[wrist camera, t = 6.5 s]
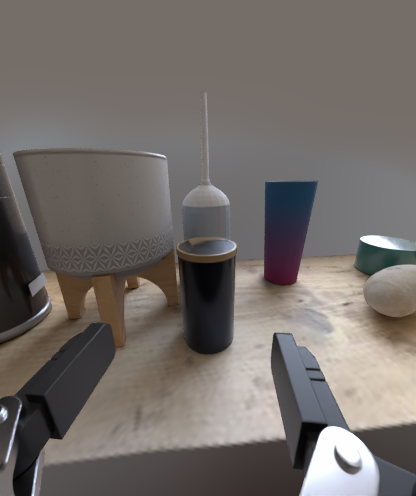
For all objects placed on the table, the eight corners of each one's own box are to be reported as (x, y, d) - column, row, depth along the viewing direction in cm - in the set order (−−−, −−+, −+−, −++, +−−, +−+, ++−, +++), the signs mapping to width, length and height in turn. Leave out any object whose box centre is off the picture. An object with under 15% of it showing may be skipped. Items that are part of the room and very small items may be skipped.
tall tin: (212, 365, 18) (210, 261, 14) (172, 336, 21) (163, 246, 18) (244, 331, 22) (248, 243, 18) (206, 311, 25) (204, 233, 22)
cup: (251, 271, 35) (256, 181, 30) (284, 266, 37) (294, 180, 32) (273, 291, 29) (285, 181, 24) (312, 283, 31) (330, 180, 26)
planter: (41, 359, 19) (-40, 147, 13) (90, 288, 31) (60, 162, 25) (181, 336, 21) (167, 148, 15) (175, 279, 33) (166, 162, 27)
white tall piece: (186, 300, 27) (172, 73, 19) (179, 274, 35) (166, 103, 26) (242, 291, 29) (251, 81, 21) (223, 268, 37) (224, 107, 28)
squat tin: (416, 286, 30) (428, 254, 28) (351, 271, 35) (357, 243, 33) (412, 268, 35) (421, 240, 34) (356, 257, 40) (362, 233, 39)
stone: (349, 294, 23) (374, 243, 30) (363, 335, 25) (384, 278, 31) (422, 301, 18) (433, 238, 25) (434, 352, 20) (441, 280, 26)
